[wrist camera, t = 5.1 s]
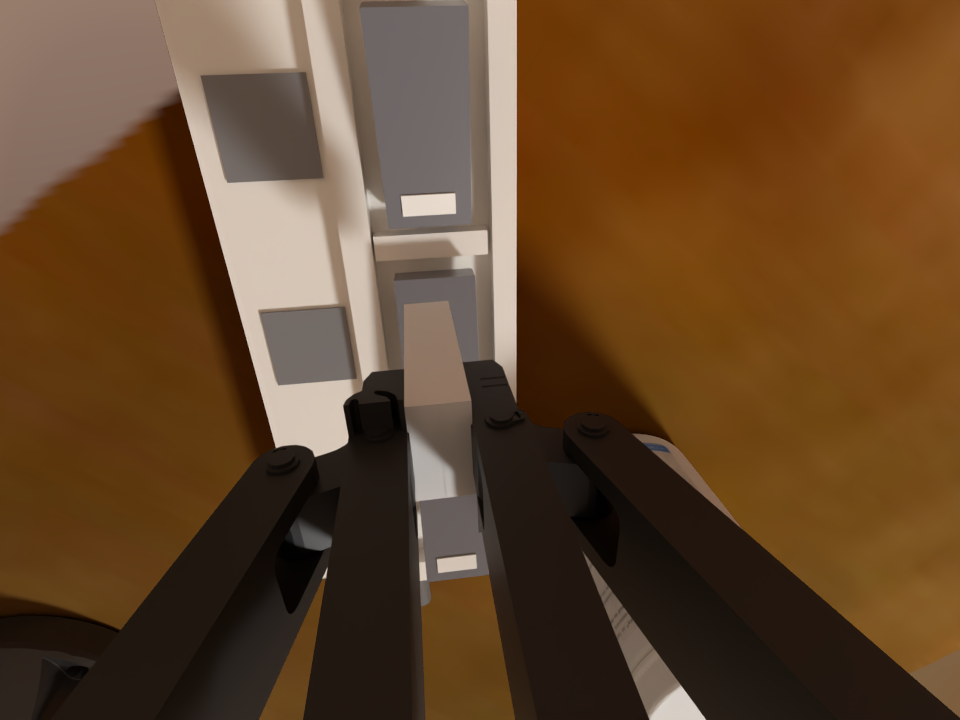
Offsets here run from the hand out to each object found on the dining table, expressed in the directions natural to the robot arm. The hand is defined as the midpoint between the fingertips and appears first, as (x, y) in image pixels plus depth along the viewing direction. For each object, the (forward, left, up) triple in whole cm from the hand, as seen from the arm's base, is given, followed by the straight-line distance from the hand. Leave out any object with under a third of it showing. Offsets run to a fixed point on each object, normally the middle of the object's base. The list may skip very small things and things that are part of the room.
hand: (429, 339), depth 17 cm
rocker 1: (0, +7, -4) cm, 8 cm away
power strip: (-2, -5, -10) cm, 11 cm away
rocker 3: (0, -11, -4) cm, 12 cm away
